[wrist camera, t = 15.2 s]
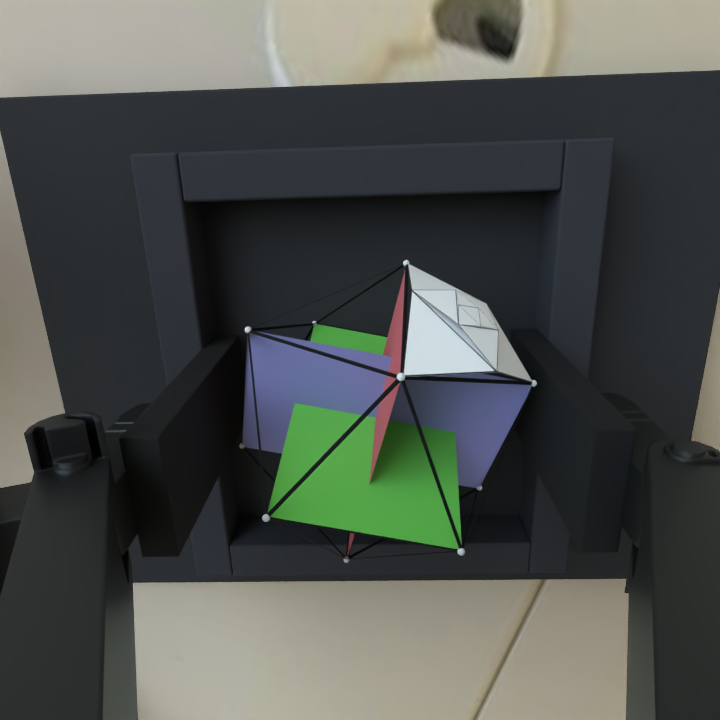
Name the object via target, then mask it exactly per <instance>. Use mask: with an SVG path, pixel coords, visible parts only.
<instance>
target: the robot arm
mask: <svg viewBox="0 0 720 720" xmlns="http://www.w3.org/2000/svg"><path fill="white" fill-rule="evenodd" d="M510 344H511V345H512V347H513V349H514V350H515V352H516V354H517V356H518V357H519V359H520V361H521V362H522V364H523V366H524V367H525V369H526V371H527V372H528V374H529V376H530V378H531V379H532V380H535V381H536V382H537V385H536V386H535V387H532V389H531V392H530V394H529V396H528V399H527V401H526V403H525V402H524V403H525V406H524V408H523V410H522V408H521V410H522V413H521V415H520V417H519V414H520V412H521V410H520V411H519V413H518V415H517V417H516V419H515V421H514V423H513V425H512V426H513V428H514V426H515V424H516V421H517V419H518V417H519V420H518V422H517V424H516V427H515V429H514V430H515V432H516V433H517V435H518V437H519V439H520V441H521V443H522V445H523V447H524V449H525V450H526V452H527V454H528V456H529V458H530V460H531V462H532V464H533V466H534V467H535V469H536V471H537V473H538V475H539V477H540V479H541V481H542V483H543V484H544V486H545V488H546V490H547V492H548V494H549V496H550V498H551V499H552V501H553V503H554V505H555V507H556V509H557V511H558V513H559V515H560V516H561V518H562V520H563V522H564V524H565V526H566V528H567V530H568V532H569V533H570V535H571V537H572V539H573V541H574V543H575V545H576V547H577V549H578V550H579V552H580V553H603V552H618V550H619V543H620V537H621V530H622V527H623V529H624V530H625V532H626V533H627V535H628V536H629V537H630V539H631V540H632V542H633V543H632V549H631V555H630V562H629V568H628V574H627V580H626V587H625V593H629V611H628V654H627V697H626V720H720V452H719V451H718V450H716V449H714V448H713V447H710V446H707V445H705V444H702V443H700V442H695V441H691V440H687V439H677V438H672V437H671V436H670V435H669V434H668V433H667V432H666V431H665V430H664V429H662V428H661V427H660V426H659V425H658V424H657V423H656V422H655V421H652V418H651V417H649V416H648V415H647V414H646V413H644V412H643V410H642V409H641V408H640V407H639V406H637V405H636V404H635V403H634V402H633V401H631V400H629V399H627V398H625V397H623V396H621V395H618V394H616V393H600V392H599V391H598V390H597V389H596V388H595V387H594V386H593V385H592V384H591V383H590V382H589V381H588V380H587V379H586V378H585V377H584V376H583V375H582V374H581V373H580V372H579V371H578V370H577V369H576V368H575V367H574V365H573V364H572V363H571V362H570V361H569V360H568V359H567V358H566V357H565V356H564V355H563V354H562V353H561V352H560V351H559V350H558V349H557V348H556V347H555V346H554V345H553V344H552V343H551V342H550V341H549V340H547V339H546V338H545V337H544V335H543V334H542V333H541V332H540V331H539V330H538V329H537V328H531V329H511V335H510ZM508 379H513V380H518V381H523V380H521V379H517V378H514V377H511V376H508ZM244 390H245V387H244V378H243V369H242V359H241V350H240V341H239V335H233V336H214V337H213V338H212V339H211V340H210V341H209V342H208V343H207V344H206V345H205V346H204V348H202V349H201V350H200V351H199V352H198V354H197V355H196V356H195V357H194V358H193V359H192V360H191V361H190V362H189V363H188V364H187V365H186V366H185V368H184V369H183V370H182V371H181V372H180V373H179V374H178V375H177V376H176V377H175V378H174V379H173V380H172V382H171V383H170V384H169V385H168V386H167V387H166V388H165V389H164V390H163V391H162V392H161V393H160V395H159V396H158V397H157V398H156V399H155V400H154V401H153V402H152V403H147V404H139V405H137V406H135V407H133V408H131V409H130V410H128V411H126V412H124V413H123V414H122V415H121V416H120V417H119V418H118V419H117V420H116V421H115V422H114V424H112V425H111V426H110V427H109V428H108V429H107V430H106V433H104V429H103V424H102V419H101V418H100V416H99V415H98V414H95V413H92V412H72V413H65V414H61V415H56V416H52V417H49V418H47V419H44V420H42V421H39V422H37V423H36V424H34V425H32V426H31V427H29V428H28V429H27V431H26V432H25V433H24V435H25V439H26V442H27V446H28V450H29V454H30V458H31V462H32V465H33V469H34V475H33V479H32V482H30V483H26V484H21V485H15V486H9V487H4V488H0V720H138V714H137V687H136V660H135V633H134V607H133V580H132V564H131V559H130V554H129V549H128V548H129V547H130V545H131V543H132V542H133V540H134V539H135V537H136V536H137V534H138V538H139V543H140V548H141V553H142V557H179V555H180V553H181V551H182V549H183V547H184V545H185V543H186V541H187V539H188V537H189V535H190V533H191V531H192V529H193V527H194V525H195V523H196V521H197V519H198V517H199V515H200V513H201V511H202V509H203V507H204V505H205V503H206V501H207V499H208V497H209V495H210V493H211V491H212V489H213V487H214V485H215V483H216V481H217V479H218V477H219V475H220V473H221V471H222V469H223V467H224V465H225V463H226V461H227V459H228V457H229V455H230V453H231V451H232V449H233V447H234V445H235V443H236V441H237V439H238V437H239V435H240V433H241V431H242V429H243V413H244ZM523 405H524V404H523ZM522 407H523V406H522Z"/></svg>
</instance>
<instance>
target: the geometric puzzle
mask: <svg viewBox="0 0 720 720" xmlns="http://www.w3.org/2000/svg"><path fill="white" fill-rule="evenodd" d="M404 266H405V271H404V275H403V279H402V283H401V287H400V291H399V294H398V298H397V302H396V306H395V310H394V314H393V317H392V321H391V325H390V329H389V333H388V336H382V335H377V334H372V333H367V332H361V331H356V330H351V329H345V328H340V327H335V326H329V325H324V324H319V322H320V321H322V320H323V319H325V318H326V317H328V316H329V315H331V314H332V313H334V312H335V311H337V310H338V309H340V308H341V307H343V306H345V305H346V304H348V303H349V302H351V301H352V300H354V299H355V298H357V297H358V296H360V295H361V294H363V293H364V292H366V291H367V290H369V289H370V288H372V287H373V286H375V285H377V284H378V283H380V282H381V281H383V280H384V279H386V278H387V277H389V276H390V275H392V274H393V273H395V272H396V271H398V270H399V269H401V268H402V267H404ZM398 267H399V266H398ZM395 268H397V267H395ZM395 268H393V269H395ZM390 270H392V269H390ZM390 270H388V271H390ZM388 271H386V272H388ZM383 273H385V272H383ZM383 273H381V274H383ZM408 274H409V281H410V287H411V293H410V303H409V312H408V322H407V299H408ZM379 275H380V274H379ZM376 276H378V275H376ZM376 276H374V277H376ZM371 278H373V277H371ZM371 278H369V279H371ZM369 279H367V280H369ZM364 281H366V280H364ZM364 281H362V282H364ZM360 283H361V282H360ZM357 284H359V283H357ZM357 284H355V285H357ZM352 286H354V285H352ZM352 286H350V287H352ZM348 288H349V287H348ZM345 289H347V288H345ZM345 289H343V290H345ZM340 291H342V290H340ZM340 291H338V292H340ZM338 292H336V293H338ZM333 294H335V293H333ZM333 294H331V295H333ZM329 296H330V295H329ZM326 297H328V296H326ZM326 297H324V298H326ZM321 299H323V298H321ZM321 299H319V300H321ZM319 300H317V301H319ZM314 302H316V301H314ZM314 302H312V303H314ZM310 304H311V303H310ZM307 305H309V304H307ZM307 305H305V306H307ZM302 307H304V306H302ZM302 307H300V308H302ZM300 308H298V309H300ZM295 310H297V309H295ZM295 310H293V311H295ZM290 312H292V311H290ZM290 312H288V313H290ZM288 313H286V314H288ZM283 315H285V314H283ZM283 315H281V316H283ZM281 316H279V317H281ZM276 318H278V317H276ZM276 318H274V319H276ZM271 320H273V319H271ZM271 320H269V321H271ZM269 321H267V322H269ZM264 323H266V322H264ZM264 323H262V324H264ZM262 324H260V325H262ZM311 325H313V326H312V328H311V329H310V331H309V333H308V334H307V336H306V338H305V339H304V340H300V339H294V338H289V337H284V336H278V335H273V334H268V333H262V332H257V331H260V330H271V329H281V328H291V327H301V326H311ZM406 325H407V331H406ZM257 326H259V325H257ZM257 326H255V327H257ZM312 331H313V332H312ZM245 332H246V333H247V346H246V368H245V390H244V413H243V435H242V443H240V445H239V446H240V448H243V451H244V450H245V451H246V452H247V453H248V454H249V455H250V456H251V457H252V459H253V460H254V461H255V462H256V463H257V464H258V465H259V466H260V467H261V475H262V485H263V495H264V505H265V509H264V506H263V503H262V500H261V497H260V494H259V491H258V489H257V486H256V483H255V480H254V477H253V474H252V471H251V468H250V465H249V462H248V459H247V457H246V454H245V451H244V454H245V457H246V460H247V463H248V466H249V469H250V472H251V475H252V478H253V481H254V484H255V487H256V490H257V492H258V495H259V498H260V501H261V504H262V507H263V510H264V513H265V514H264V515H263V517H262V520H263V521H264V522H268V521H269V520H271V521H273V522H275V523H277V522H276V521H274V520H278V521H284V522H290V523H296V524H301V525H307V526H313V527H316V528H317V529H318V530H319V531H320V532H321V533H322V534H323V535H324V536H325V537H326V538H327V540H328V541H329V542H330V543H331V544H332V545H333V546H334V547H335V548H336V549H337V550H338V551H339V553H340V554H341V555H342V556H341V555H339V554H337V553H335V552H333V551H331V550H329V549H327V548H325V547H323V546H321V545H320V544H318V543H316V542H314V541H312V540H310V539H308V538H306V537H304V536H302V535H300V534H299V533H297V532H295V531H293V530H291V529H289V528H287V527H285V526H283V525H281V524H279V523H277V524H279V525H281V526H283V527H285V528H286V529H288V530H290V531H292V532H294V533H296V534H298V535H300V536H302V537H304V538H306V539H308V540H310V541H312V542H313V543H315V544H317V545H319V546H321V547H323V548H325V549H327V550H329V551H331V552H333V553H335V554H337V555H338V556H340V557H342V558H344V559H343V560H344V562H345V563H348V562H349V560H351V559H366V558H380V557H394V556H408V555H423V554H437V553H451V552H458V554H459V555H461V556H462V555H464V554H465V550H464V546H465V544H466V542H467V539H468V537H469V535H470V532H471V530H472V528H473V525H474V523H475V521H476V518H477V516H478V513H479V511H480V509H481V506H482V504H483V502H484V499H485V497H486V495H487V492H488V490H489V488H490V485H491V483H492V481H493V478H494V476H495V474H496V471H497V469H498V467H499V464H500V462H501V460H502V457H503V455H504V453H505V450H506V448H507V445H508V443H509V441H510V438H511V436H512V434H513V431H514V429H515V427H516V424H517V422H518V420H519V417H520V415H521V413H522V410H523V408H524V406H525V403H526V401H527V399H528V396H529V394H530V392H531V389H532V387H535V386H536V385H537V382H536V381H535V380H532V379H531V378H530V376H529V374H528V372H527V371H526V369H525V367H524V366H523V364H522V362H521V361H520V359H519V357H518V356H517V354H516V352H515V350H514V349H513V347H512V345H511V344H510V342H509V340H508V339H507V337H506V335H505V334H504V332H503V330H502V328H501V327H500V325H499V323H498V322H497V320H496V318H495V317H494V315H493V313H492V312H491V310H490V308H489V306H488V305H487V303H485V302H483V301H481V300H479V299H477V298H475V297H473V296H471V295H469V294H467V293H465V292H463V291H461V290H459V289H457V288H455V287H454V286H452V285H450V284H448V283H446V282H444V281H442V280H440V279H438V278H436V277H434V276H432V275H430V274H428V273H426V272H424V271H422V270H420V269H418V268H416V267H414V266H412V265H410V264H409V261H408V260H405V261H404V262H403V264H402V265H400V267H399V268H397V269H396V270H394V271H393V272H391V273H390V274H388V275H387V276H385V277H383V278H382V279H380V280H379V281H377V282H376V283H374V284H373V285H371V286H370V287H368V288H367V289H365V290H364V291H362V292H361V293H359V294H358V295H356V296H355V297H353V298H352V299H350V300H349V301H347V302H346V303H344V304H343V305H341V306H340V307H338V308H337V309H335V310H334V311H332V312H331V313H329V314H328V315H326V316H325V317H323V318H322V319H320V320H319V321H317V322H316V321H313V322H312V323H308V324H296V325H285V326H274V327H262V328H254V327H252V328H251V327H249V326H248V327H246V328H245ZM311 333H312V336H311V340H310V341H307V340H308V338H309V336H310V335H311ZM496 372H497V373H501V374H504V375H507V376H511V377H514V378H517V379H521V380H523V381H518V380H513V379H508V378H502V377H497V376H492V375H486V374H481V373H496ZM524 402H525V403H524ZM523 404H524V405H523ZM522 406H523V407H522ZM521 408H522V410H521ZM520 410H521V412H520V414H519V417H518V419H517V421H516V424H515V426H514V428H513V431H512V433H511V435H510V438H509V440H508V442H507V445H506V447H505V449H504V452H503V454H502V456H501V459H500V461H499V463H498V466H497V468H496V470H495V473H494V475H493V477H492V480H491V482H490V484H489V487H488V489H487V491H486V494H485V496H484V498H483V501H482V503H481V506H480V508H479V510H478V513H477V515H476V517H475V520H474V522H473V524H472V527H471V529H470V531H469V534H468V536H467V533H468V529H469V525H470V522H471V518H472V514H473V510H474V506H475V503H476V499H477V495H478V491H480V490H482V486H481V484H482V482H483V480H484V478H485V476H486V475H487V473H488V471H489V469H490V467H491V465H492V463H493V461H494V459H495V457H496V455H497V454H498V452H499V450H500V448H501V446H502V444H503V442H504V440H505V438H506V436H507V434H508V432H509V431H510V429H511V427H512V425H513V423H514V421H515V419H516V417H517V415H518V413H519V411H520ZM245 448H253V449H258V450H259V455H260V464H259V463H258V461H257V460H256V459H255V458H254V457H253V456H252V455H251V454H250V453H249V452H248V451H247V450H246V449H245ZM261 450H264V451H270V452H275V453H281V454H282V456H281V460H280V464H279V468H278V472H277V476H276V480H274V479H273V478H272V477H271V476H270V474H269V473H268V472H267V471H266V470H265V469H264V468H263V462H262V452H261ZM263 470H264V472H265V473H266V474H267V475H268V476H269V477H270V478H271V479H272V480H273V481H274V482H275V484H274V488H273V492H272V496H271V500H270V504H269V508H268V512H267V502H266V492H265V482H264V472H263ZM458 485H461V486H466V487H471V488H473V490H471V491H470V492H468V493H466V494H464V495H462V496H460V497H459V489H458ZM475 491H477V492H476V495H475V499H474V503H473V506H472V510H471V514H470V517H469V521H468V524H467V528H466V532H465V535H464V539H463V543H462V540H461V523H460V506H459V500H460V499H462V498H464V497H466V496H468V495H469V494H471V493H473V492H475ZM320 528H325V529H330V530H336V531H342V532H348V541H347V550H346V556H345V555H344V554H343V553H342V552H341V551H340V550H339V549H338V548H337V547H336V546H335V545H334V544H333V542H332V541H331V540H330V539H329V538H328V537H327V536H326V535H325V534H324V533H323V532H322V531H321V529H320ZM354 534H359V535H365V536H371V537H377V538H382V539H380V540H378V541H376V542H375V543H373V544H371V545H369V546H367V547H365V548H363V549H362V550H360V551H358V552H356V553H354V554H352V555H350V548H351V544H352V541H353V538H354ZM466 537H467V538H466ZM386 539H388V540H394V541H400V542H406V543H412V544H417V545H423V546H429V547H435V548H441V549H446V550H452V551H448V552H434V553H420V554H406V555H393V556H379V557H365V558H352V557H354V556H356V555H358V554H360V553H362V552H363V551H365V550H367V549H369V548H371V547H373V546H375V545H376V544H378V543H380V542H382V541H384V540H386ZM465 540H466V541H465ZM350 558H351V559H350Z"/></svg>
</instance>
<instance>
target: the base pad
mask: <svg viewBox="0 0 720 720" xmlns="http://www.w3.org/2000/svg"><path fill="white" fill-rule="evenodd" d="M0 131H1V136H2V140H3V144H4V149H5V153H6V157H7V162H8V166H9V170H10V175H11V179H12V183H13V188H14V192H15V196H16V201H17V205H18V209H19V214H20V218H21V222H22V227H23V231H24V235H25V240H26V244H27V248H28V253H29V257H30V261H31V266H32V270H33V274H34V279H35V283H36V288H37V292H38V296H39V301H40V305H41V309H42V314H43V318H44V322H45V327H46V331H47V335H48V340H49V344H50V348H51V353H52V357H53V361H54V366H55V370H56V374H57V379H58V383H59V387H60V392H61V396H62V400H63V405H64V409H65V413H72V412H92V413H95V414H98V415H99V416H100V418H101V419H102V424H103V429H104V433H106V430H107V429H108V428H109V427H110V426H111V425H112V424H114V422H115V421H116V420H117V419H118V418H119V417H120V416H121V415H122V414H123V413H124V412H126V411H128V410H130V409H131V408H133V407H135V406H137V405H139V404H147V403H152V402H153V401H154V400H155V399H156V398H157V397H158V396H159V395H160V393H161V392H162V391H163V390H164V389H165V388H166V387H167V386H168V385H169V384H170V383H171V382H172V380H173V379H174V378H175V377H176V376H177V375H178V374H179V373H180V372H181V371H182V370H183V369H184V368H185V366H186V365H187V364H188V363H189V362H190V361H191V360H192V359H193V358H194V357H195V356H196V355H197V354H198V352H199V351H200V350H201V349H202V348H204V346H205V345H206V344H207V343H208V342H209V341H210V340H211V339H212V338H213V337H214V336H233V335H239V341H240V350H241V359H242V369H243V378H244V387H245V368H246V346H247V333H246V332H245V328H246V327H248V326H249V327H251V328H252V327H254V328H262V327H274V326H285V325H296V324H308V323H312V322H313V321H316V322H317V321H319V320H320V319H322V318H323V317H325V316H326V315H328V314H329V313H331V312H332V311H334V310H335V309H337V308H338V307H340V306H341V305H343V304H344V303H346V302H347V301H349V300H350V299H352V298H353V297H355V296H356V295H358V294H359V293H361V292H362V291H364V290H365V289H367V288H368V287H370V286H371V285H373V284H374V283H376V282H377V281H379V280H380V279H382V278H383V277H385V276H387V275H388V274H390V273H391V272H393V271H394V270H396V269H397V268H399V267H400V265H402V264H403V262H404V261H405V260H408V261H409V264H410V265H412V266H414V267H416V268H418V269H420V270H422V271H424V272H426V273H428V274H430V275H432V276H434V277H436V278H438V279H440V280H442V281H444V282H446V283H448V284H450V285H452V286H454V287H455V288H457V289H459V290H461V291H463V292H465V293H467V294H469V295H471V296H473V297H475V298H477V299H479V300H481V301H483V302H485V303H487V305H488V306H489V308H490V310H491V312H492V313H493V315H494V317H495V318H496V320H497V322H498V323H499V325H500V327H501V328H502V330H503V332H504V334H505V335H506V337H507V339H508V340H509V342H510V335H511V329H531V328H537V329H538V330H539V331H540V332H541V333H542V334H543V335H544V337H545V338H546V339H547V340H549V341H550V342H551V343H552V344H553V345H554V346H555V347H556V348H557V349H558V350H559V351H560V352H561V353H562V354H563V355H564V356H565V357H566V358H567V359H568V360H569V361H570V362H571V363H572V364H573V365H574V367H575V368H576V369H577V370H578V371H579V372H580V373H581V374H582V375H583V376H584V377H585V378H586V379H587V380H588V381H589V382H590V383H591V384H592V385H593V386H594V387H595V388H596V389H597V390H598V391H599V392H600V393H616V394H618V395H621V396H623V397H625V398H627V399H629V400H631V401H633V402H634V403H635V404H636V405H637V406H639V407H640V408H641V409H642V410H643V412H644V413H646V414H647V415H648V416H649V417H651V418H652V421H655V422H656V423H657V424H658V425H659V426H660V427H661V428H662V429H664V430H665V431H666V432H667V433H668V434H669V435H670V436H671V437H672V438H677V439H687V440H691V436H692V431H693V426H694V420H695V415H696V410H697V404H698V399H699V394H700V389H701V383H702V378H703V373H704V367H705V362H706V357H707V351H708V346H709V341H710V336H711V330H712V325H713V320H714V314H715V309H716V304H717V298H718V293H719V288H720V70H717V71H690V72H664V73H638V74H612V75H585V76H559V77H533V78H507V79H480V80H454V81H428V82H402V83H376V84H349V85H323V86H297V87H271V88H244V89H218V90H192V91H166V92H140V93H113V94H87V95H61V96H35V97H8V98H0ZM398 266H399V267H398ZM395 267H397V268H395ZM393 268H395V269H393ZM390 269H392V270H390ZM388 270H390V271H388ZM386 271H388V272H386ZM404 271H405V266H404V267H402V268H401V269H399V270H398V271H396V272H395V273H393V274H392V275H390V276H389V277H387V278H386V279H384V280H383V281H381V282H380V283H378V284H377V285H375V286H373V287H372V288H370V289H369V290H367V291H366V292H364V293H363V294H361V295H360V296H358V297H357V298H355V299H354V300H352V301H351V302H349V303H348V304H346V305H345V306H343V307H341V308H340V309H338V310H337V311H335V312H334V313H332V314H331V315H329V316H328V317H326V318H325V319H323V320H322V321H320V322H319V324H324V325H329V326H335V327H340V328H345V329H351V330H356V331H361V332H367V333H372V334H377V335H382V336H388V333H389V329H390V325H391V321H392V317H393V314H394V310H395V306H396V302H397V298H398V294H399V291H400V287H401V283H402V279H403V275H404ZM383 272H385V273H383ZM381 273H383V274H381ZM379 274H380V275H379ZM376 275H378V276H376ZM374 276H376V277H374ZM371 277H373V278H371ZM369 278H371V279H369ZM367 279H369V280H367ZM364 280H366V281H364ZM362 281H364V282H362ZM360 282H361V283H360ZM357 283H359V284H357ZM355 284H357V285H355ZM352 285H354V286H352ZM350 286H352V287H350ZM348 287H349V288H348ZM345 288H347V289H345ZM343 289H345V290H343ZM340 290H342V291H340ZM338 291H340V292H338ZM336 292H338V293H336ZM333 293H335V294H333ZM410 293H411V287H410V281H409V274H408V299H407V322H408V312H409V303H410ZM331 294H333V295H331ZM329 295H330V296H329ZM326 296H328V297H326ZM324 297H326V298H324ZM321 298H323V299H321ZM319 299H321V300H319ZM317 300H319V301H317ZM314 301H316V302H314ZM312 302H314V303H312ZM310 303H311V304H310ZM307 304H309V305H307ZM305 305H307V306H305ZM302 306H304V307H302ZM300 307H302V308H300ZM298 308H300V309H298ZM295 309H297V310H295ZM293 310H295V311H293ZM290 311H292V312H290ZM288 312H290V313H288ZM286 313H288V314H286ZM283 314H285V315H283ZM281 315H283V316H281ZM279 316H281V317H279ZM276 317H278V318H276ZM274 318H276V319H274ZM271 319H273V320H271ZM269 320H271V321H269ZM267 321H269V322H267ZM264 322H266V323H264ZM262 323H264V324H262ZM260 324H262V325H260ZM257 325H259V326H257ZM255 326H257V327H255ZM312 326H313V325H311V326H301V327H291V328H281V329H271V330H260V331H257V332H262V333H268V334H273V335H278V336H284V337H289V338H294V339H300V340H304V339H305V338H306V336H307V334H308V333H309V331H310V329H311V328H312ZM406 331H407V325H406ZM312 332H313V331H312ZM311 336H312V333H311V335H310V336H309V338H308V340H307V341H310V340H311ZM481 374H486V375H492V376H497V377H502V378H508V376H507V375H504V374H501V373H497V372H496V373H481ZM512 431H513V426H512V427H511V429H510V431H509V432H508V434H507V436H506V438H505V440H504V442H503V444H502V446H501V448H500V450H499V452H498V454H497V455H496V457H495V459H494V461H493V463H492V465H491V467H490V469H489V471H488V473H487V475H486V476H485V478H484V480H483V482H482V484H481V486H482V490H480V491H478V495H477V499H476V503H475V506H474V510H473V514H472V518H471V522H470V525H469V529H468V533H467V536H468V534H469V531H470V529H471V527H472V524H473V522H474V520H475V517H476V515H477V513H478V510H479V508H480V506H481V503H482V501H483V498H484V496H485V494H486V491H487V489H488V487H489V484H490V482H491V480H492V477H493V475H494V473H495V470H496V468H497V466H498V463H499V461H500V459H501V456H502V454H503V452H504V449H505V447H506V445H507V442H508V440H509V438H510V435H511V433H512ZM242 435H243V429H242V431H241V433H240V435H239V437H238V439H237V441H236V443H235V445H234V447H233V449H232V451H231V453H230V455H229V457H228V459H227V461H226V463H225V465H224V467H223V469H222V471H221V473H220V475H219V477H218V479H217V481H216V483H215V485H214V487H213V489H212V491H211V493H210V495H209V497H208V499H207V501H206V503H205V505H204V507H203V509H202V511H201V513H200V515H199V517H198V519H197V521H196V523H195V525H194V527H193V529H192V531H191V533H190V535H189V537H188V539H187V541H186V543H185V545H184V547H183V549H182V551H181V553H180V555H179V557H142V553H141V548H140V543H139V538H138V534H137V536H136V537H135V539H134V540H133V542H132V543H131V545H130V547H129V548H128V549H129V554H130V559H131V564H132V580H133V583H143V582H266V581H389V580H511V579H627V574H628V568H629V562H630V555H631V549H632V543H633V542H632V540H631V539H630V537H629V536H628V535H627V533H626V532H625V530H624V529H623V527H622V530H621V537H620V543H619V550H618V552H603V553H580V552H579V550H578V549H577V547H576V545H575V543H574V541H573V539H572V537H571V535H570V533H569V532H568V530H567V528H566V526H565V524H564V522H563V520H562V518H561V516H560V515H559V513H558V511H557V509H556V507H555V505H554V503H553V501H552V499H551V498H550V496H549V494H548V492H547V490H546V488H545V486H544V484H543V483H542V481H541V479H540V477H539V475H538V473H537V471H536V469H535V467H534V466H533V464H532V462H531V460H530V458H529V456H528V454H527V452H526V450H525V449H524V447H523V445H522V443H521V441H520V439H519V437H518V435H517V433H516V432H515V430H514V431H513V434H512V436H511V438H510V441H509V443H508V445H507V448H506V450H505V453H504V455H503V457H502V460H501V462H500V464H499V467H498V469H497V471H496V474H495V476H494V478H493V481H492V483H491V485H490V488H489V490H488V492H487V495H486V497H485V499H484V502H483V504H482V506H481V509H480V511H479V513H478V516H477V518H476V521H475V523H474V525H473V528H472V530H471V532H470V535H469V537H468V539H467V542H466V544H465V546H464V550H465V554H464V555H462V556H461V555H459V554H458V552H451V553H437V554H423V555H408V556H394V557H380V558H366V559H351V558H350V559H351V560H349V562H348V563H345V562H344V560H343V559H344V558H342V557H340V556H338V555H337V554H339V555H341V554H340V553H339V551H338V550H337V549H336V548H335V547H334V546H333V545H332V544H331V543H330V542H329V541H328V540H327V538H326V537H325V536H324V535H323V534H322V533H321V532H320V531H319V530H318V529H317V528H316V527H313V526H307V525H301V524H296V523H290V522H284V521H278V520H274V521H276V522H277V523H279V524H281V525H283V526H285V527H287V528H289V529H291V530H293V531H295V532H297V533H299V534H300V535H302V536H304V537H306V538H308V539H310V540H312V541H314V542H316V543H318V544H320V545H321V546H323V547H325V548H327V549H329V550H331V551H333V552H335V553H337V554H335V553H333V552H331V551H329V550H327V549H325V548H323V547H321V546H319V545H317V544H315V543H313V542H312V541H310V540H308V539H306V538H304V537H302V536H300V535H298V534H296V533H294V532H292V531H290V530H288V529H286V528H285V527H283V526H281V525H279V524H277V523H275V522H273V521H271V520H269V521H268V522H264V521H263V520H262V517H263V515H264V514H265V513H264V510H263V507H262V504H261V501H260V498H259V495H258V492H257V490H256V487H255V484H254V481H253V478H252V475H251V472H250V469H249V466H248V463H247V460H246V457H247V459H248V462H249V465H250V468H251V471H252V474H253V477H254V480H255V483H256V486H257V489H258V491H259V494H260V497H261V500H262V503H263V506H264V509H265V505H264V495H263V485H262V475H261V467H260V466H259V465H258V464H257V463H256V462H255V461H254V460H253V459H252V457H251V456H250V455H249V454H248V453H247V452H246V451H245V450H244V451H245V454H246V457H245V454H244V451H243V448H240V446H239V445H240V443H242ZM245 449H246V450H247V451H248V452H249V453H250V454H251V455H252V456H253V457H254V458H255V459H256V460H257V461H258V463H259V464H260V455H259V450H258V449H253V448H245ZM261 452H262V462H263V468H264V469H265V470H266V471H267V472H268V473H269V474H270V476H271V477H272V478H273V479H274V480H276V476H277V472H278V468H279V464H280V460H281V456H282V454H281V453H275V452H270V451H264V450H261ZM263 472H264V470H263ZM264 482H265V492H266V502H267V512H268V508H269V504H270V500H271V496H272V492H273V488H274V484H275V482H274V481H273V480H272V479H271V478H270V477H269V476H268V475H267V474H266V473H265V472H264ZM458 489H459V497H460V496H462V495H464V494H466V493H468V492H470V491H471V490H473V488H471V487H466V486H461V485H458ZM476 492H477V491H475V492H473V493H471V494H469V495H468V496H466V497H464V498H462V499H460V500H459V506H460V523H461V540H462V543H463V539H464V535H465V532H466V528H467V524H468V521H469V517H470V514H471V510H472V506H473V503H474V499H475V495H476ZM320 529H321V531H322V532H323V533H324V534H325V535H326V536H327V537H328V538H329V539H330V540H331V541H332V542H333V544H334V545H335V546H336V547H337V548H338V549H339V550H340V551H341V552H342V553H343V554H344V555H345V556H346V550H347V541H348V532H342V531H336V530H330V529H325V528H320ZM466 538H467V537H466ZM380 539H382V538H377V537H371V536H365V535H359V534H354V538H353V541H352V544H351V548H350V555H352V554H354V553H356V552H358V551H360V550H362V549H363V548H365V547H367V546H369V545H371V544H373V543H375V542H376V541H378V540H380ZM465 541H466V540H465ZM448 551H452V550H446V549H441V548H435V547H429V546H423V545H417V544H412V543H406V542H400V541H394V540H388V539H386V540H384V541H382V542H380V543H378V544H376V545H375V546H373V547H371V548H369V549H367V550H365V551H363V552H362V553H360V554H358V555H356V556H354V557H352V558H365V557H379V556H393V555H406V554H420V553H434V552H448ZM341 556H342V555H341Z"/></svg>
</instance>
